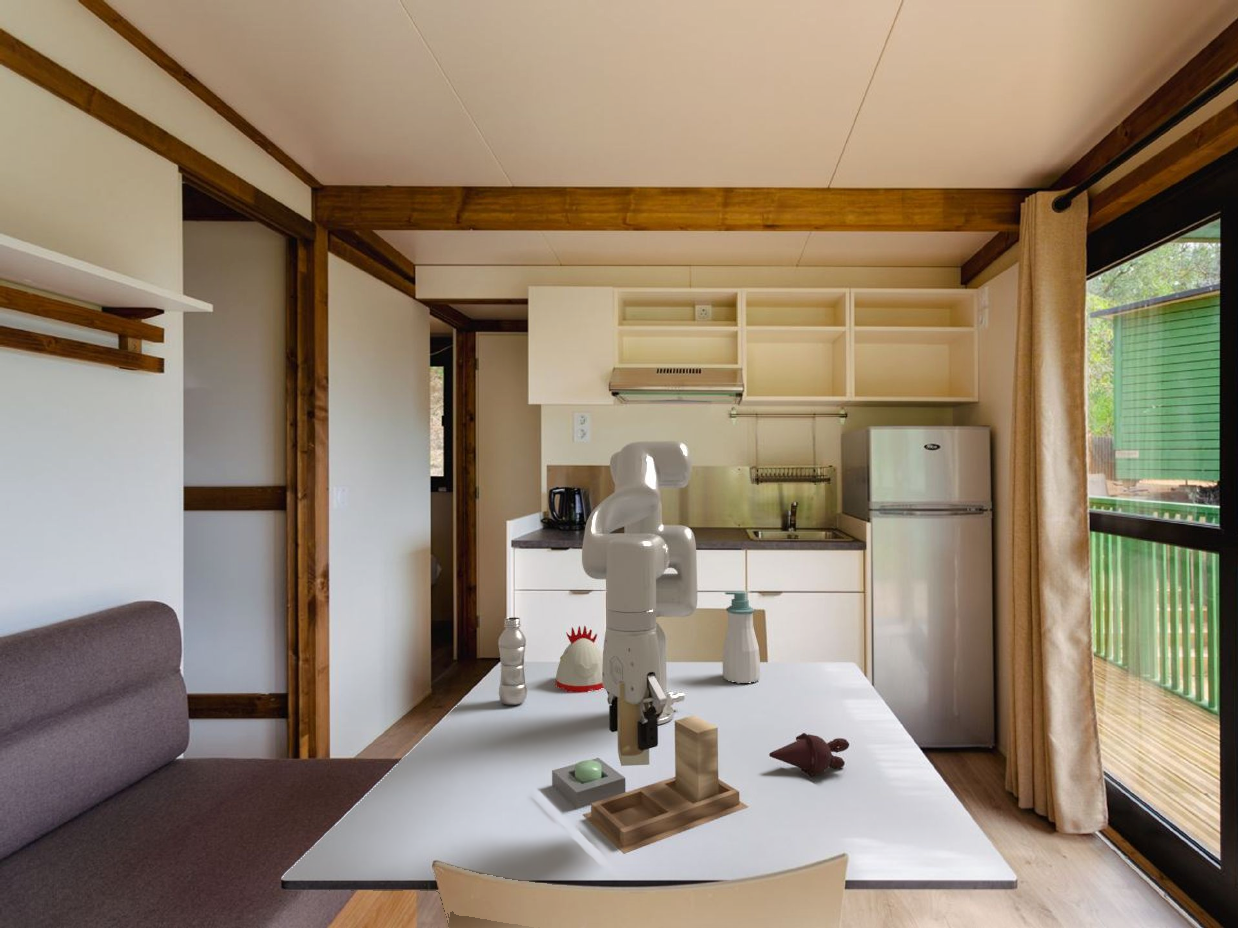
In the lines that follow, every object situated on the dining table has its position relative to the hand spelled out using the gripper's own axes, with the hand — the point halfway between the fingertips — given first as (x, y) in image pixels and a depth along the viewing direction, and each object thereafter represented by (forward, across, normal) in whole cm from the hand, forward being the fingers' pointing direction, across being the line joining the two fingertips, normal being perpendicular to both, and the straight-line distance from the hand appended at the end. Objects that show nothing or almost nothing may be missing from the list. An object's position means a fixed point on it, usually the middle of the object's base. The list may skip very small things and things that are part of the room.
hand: (633, 737), depth 93 cm
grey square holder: (+13, -13, -1) cm, 18 cm away
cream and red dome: (+13, -65, +26) cm, 71 cm away
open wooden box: (+13, 0, +6) cm, 15 cm away
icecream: (+14, +2, +36) cm, 39 cm away
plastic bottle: (+13, -61, +5) cm, 63 cm away
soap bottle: (+13, -45, +63) cm, 79 cm away
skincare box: (+3, 0, 0) cm, 3 cm away
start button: (+12, -13, -1) cm, 17 cm away
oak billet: (+12, 0, +12) cm, 17 cm away
